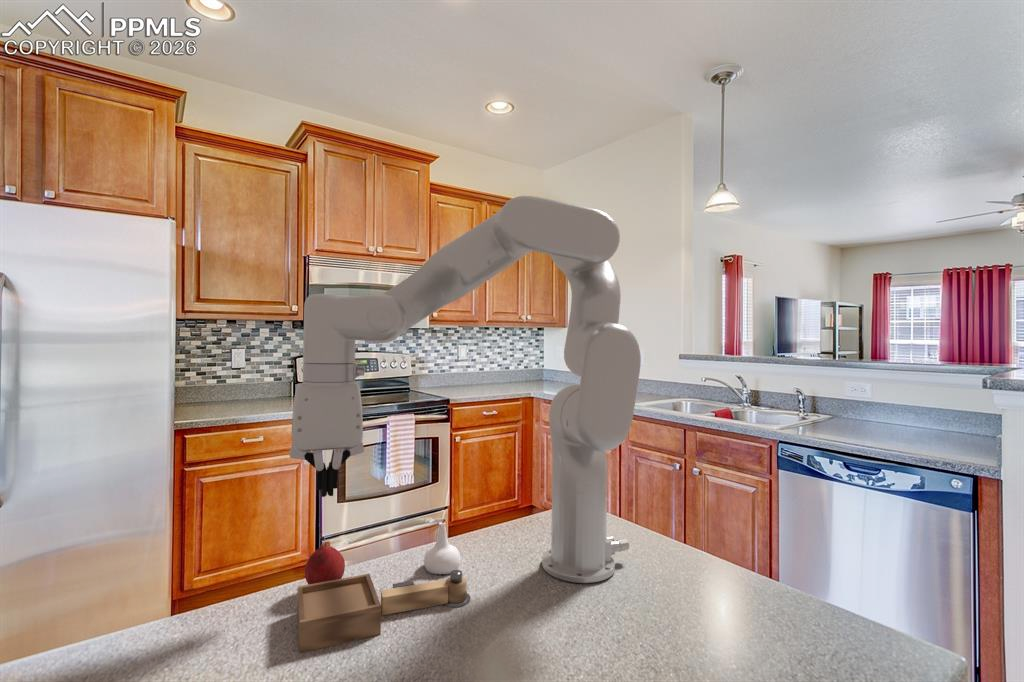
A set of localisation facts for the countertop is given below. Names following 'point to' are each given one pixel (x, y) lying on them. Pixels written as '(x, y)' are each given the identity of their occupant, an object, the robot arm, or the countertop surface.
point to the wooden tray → (337, 612)
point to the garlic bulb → (442, 555)
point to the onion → (324, 565)
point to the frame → (454, 578)
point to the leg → (422, 595)
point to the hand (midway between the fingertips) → (326, 493)
